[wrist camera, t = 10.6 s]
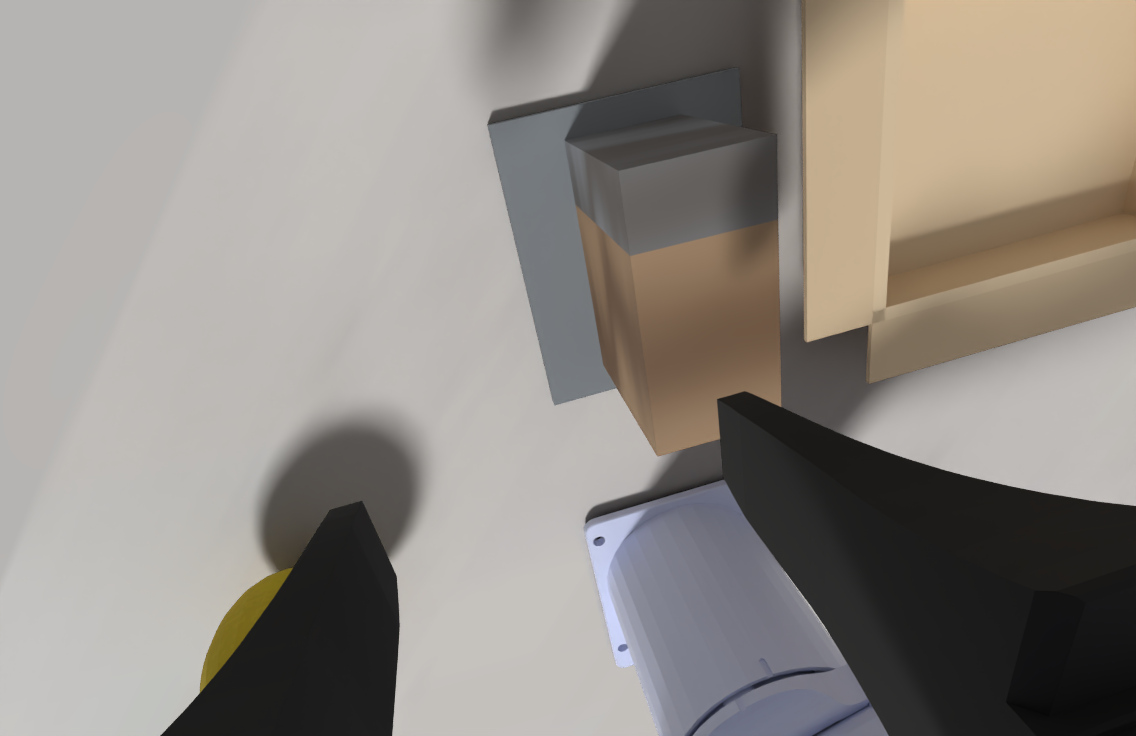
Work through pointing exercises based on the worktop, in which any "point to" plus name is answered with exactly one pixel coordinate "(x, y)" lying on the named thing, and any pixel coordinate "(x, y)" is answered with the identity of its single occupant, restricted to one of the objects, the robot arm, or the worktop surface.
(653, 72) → the worktop surface
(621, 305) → the walnut box
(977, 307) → the carton
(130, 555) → the worktop surface
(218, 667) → the lemon
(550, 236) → the rubber mat
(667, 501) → the robot arm
